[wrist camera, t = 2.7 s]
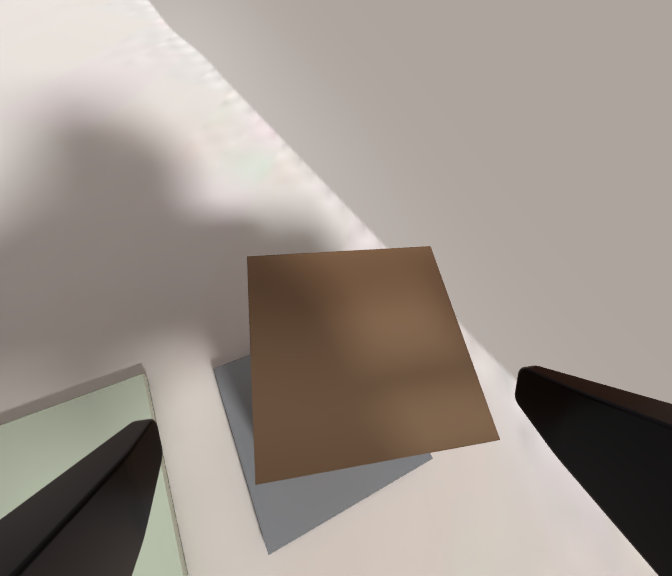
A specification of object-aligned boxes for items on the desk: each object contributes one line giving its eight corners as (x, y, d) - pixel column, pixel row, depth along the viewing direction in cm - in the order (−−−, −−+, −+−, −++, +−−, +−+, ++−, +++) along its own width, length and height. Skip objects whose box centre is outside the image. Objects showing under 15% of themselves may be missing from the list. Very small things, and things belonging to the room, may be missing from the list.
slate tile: (429, 458, 16) (433, 458, 15) (269, 552, 13) (268, 555, 13) (355, 316, 19) (356, 313, 18) (214, 370, 16) (213, 368, 16)
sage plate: (198, 630, 12) (195, 637, 11) (-185, 869, 9) (-210, 889, 8) (146, 376, 16) (142, 373, 15) (-130, 478, 13) (-145, 478, 12)
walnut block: (376, 457, 15) (499, 439, 6) (275, 476, 14) (255, 485, 5) (358, 359, 17) (430, 246, 8) (268, 370, 16) (247, 256, 8)
